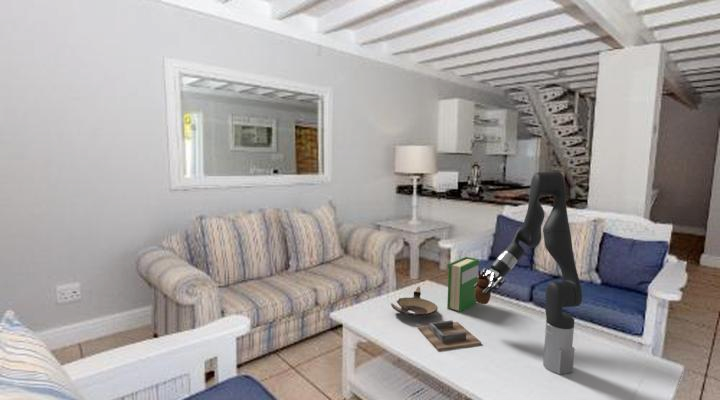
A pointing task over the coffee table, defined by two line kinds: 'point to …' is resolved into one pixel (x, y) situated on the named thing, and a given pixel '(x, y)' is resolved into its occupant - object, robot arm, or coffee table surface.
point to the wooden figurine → (482, 289)
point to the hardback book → (462, 283)
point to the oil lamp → (415, 305)
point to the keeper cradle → (448, 335)
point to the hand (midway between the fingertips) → (479, 291)
